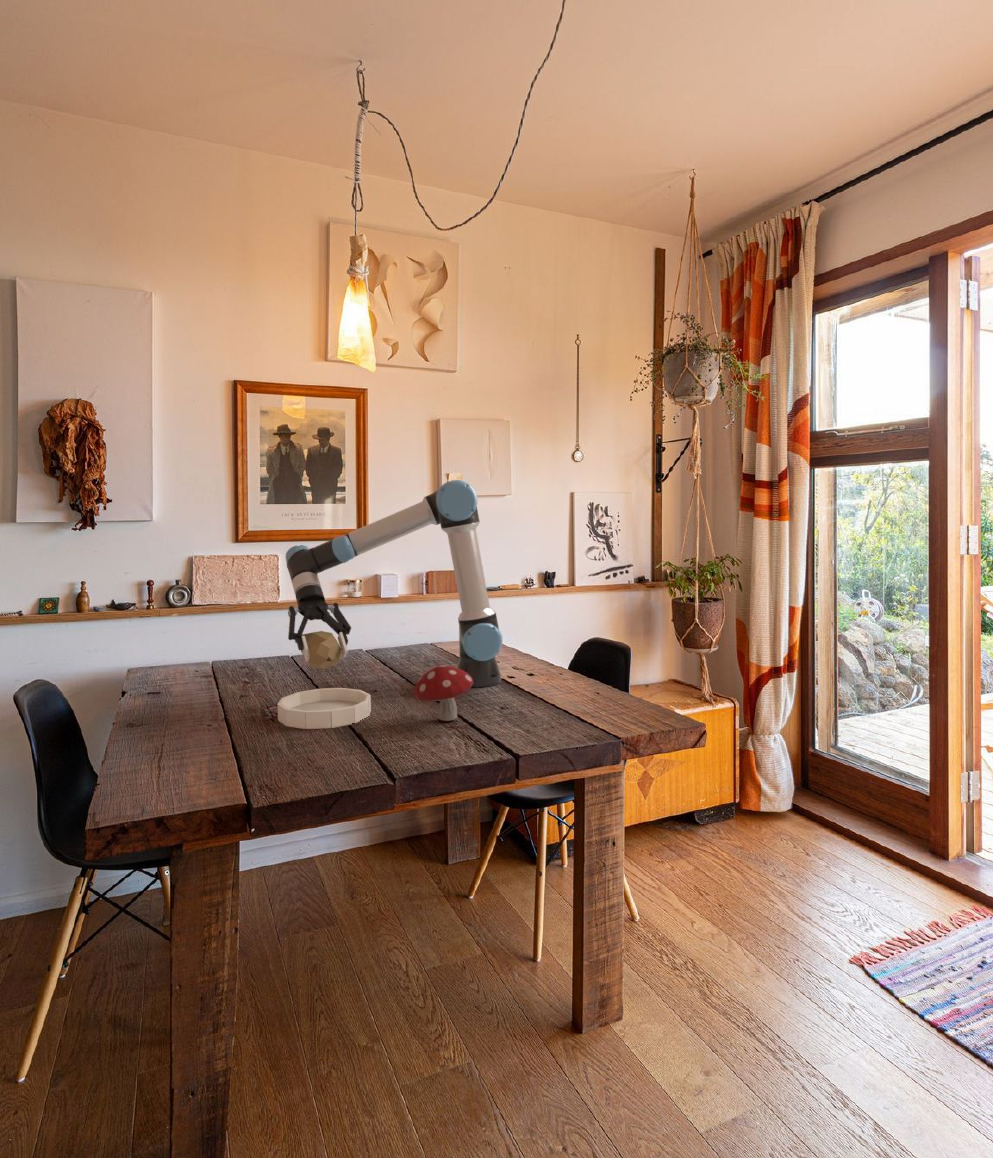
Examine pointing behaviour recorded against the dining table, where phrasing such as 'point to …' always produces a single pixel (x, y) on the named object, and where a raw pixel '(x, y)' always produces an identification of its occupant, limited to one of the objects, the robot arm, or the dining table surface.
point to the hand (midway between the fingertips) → (327, 656)
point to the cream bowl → (324, 708)
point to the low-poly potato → (322, 649)
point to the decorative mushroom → (443, 689)
